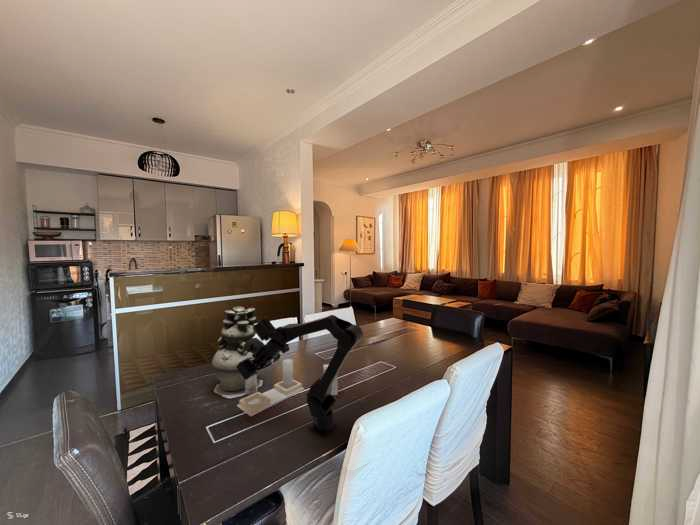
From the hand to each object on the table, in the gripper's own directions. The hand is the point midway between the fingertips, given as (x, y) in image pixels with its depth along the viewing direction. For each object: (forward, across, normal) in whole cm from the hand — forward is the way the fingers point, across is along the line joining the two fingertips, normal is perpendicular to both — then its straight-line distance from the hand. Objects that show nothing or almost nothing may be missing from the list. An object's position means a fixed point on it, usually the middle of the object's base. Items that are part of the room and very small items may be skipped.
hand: (248, 373), depth 109 cm
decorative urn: (+21, -12, -2) cm, 24 cm away
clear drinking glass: (+4, 0, +6) cm, 7 cm away
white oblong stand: (+7, -9, +12) cm, 17 cm away
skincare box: (-8, -21, +27) cm, 36 cm away
